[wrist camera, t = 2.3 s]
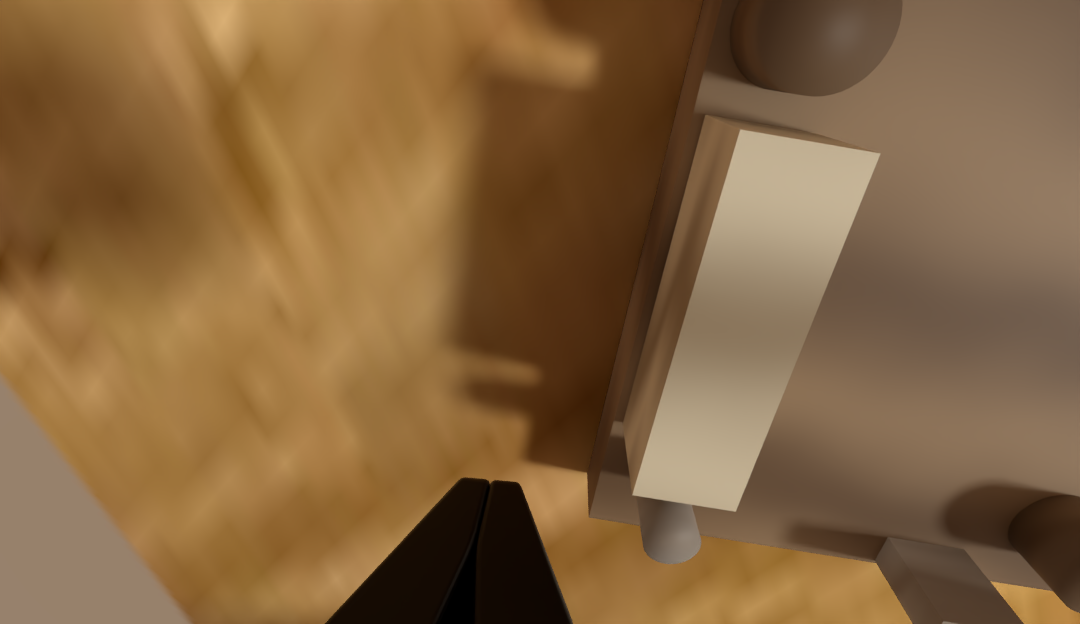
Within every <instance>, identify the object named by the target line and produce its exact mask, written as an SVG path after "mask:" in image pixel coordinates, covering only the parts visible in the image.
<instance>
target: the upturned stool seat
mask: <svg viewBox="0 0 1080 624" xmlns="http://www.w3.org/2000/svg"><path fill="white" fill-rule="evenodd" d="M705 115H711V116H717V117H722V118H728V119H734V120H740V121H746V122H752V123H757V124H763V125H769V126H775V127H781V128H787V129H793V130H798V131H804V132H810V133H816V134H819V135H823V136H826V137H829V138H832V139H836V140H839V141H842V142H845V143H849V144H852V145H855V146H858V147H861V148H865V149H868V150H871V151H874V152H878V153H881V154H880V156H879V159H878V161H877V164H876V166H875V169H874V171H873V174H872V176H871V179H870V181H869V183H868V186H867V188H866V191H865V193H864V196H863V198H862V201H861V203H860V206H859V208H858V211H857V213H856V216H855V218H854V221H853V223H852V225H851V228H850V230H849V233H848V235H847V238H846V240H845V243H844V245H843V248H842V250H841V253H840V255H839V258H838V260H837V263H836V265H835V267H834V270H833V272H832V275H831V277H830V280H829V282H828V285H827V287H826V290H825V292H824V295H823V297H822V300H821V302H820V305H819V307H818V310H817V312H816V314H815V317H814V319H813V322H812V324H811V327H810V329H809V332H808V334H807V337H806V339H805V342H804V344H803V347H802V349H801V352H800V354H799V356H798V359H797V361H796V364H795V366H794V369H793V371H792V374H791V376H790V379H789V381H788V384H787V386H786V389H785V391H784V394H783V396H782V399H781V401H780V403H779V406H778V408H777V411H776V413H775V416H774V418H773V421H772V423H771V426H770V428H769V431H768V433H767V436H766V438H765V441H764V443H763V445H762V448H761V450H760V453H759V455H758V458H757V460H756V463H755V465H754V468H753V470H752V473H751V475H750V478H749V480H748V483H747V485H746V488H745V490H744V492H743V495H742V497H741V500H740V502H739V505H738V507H737V510H736V512H734V511H728V510H722V509H715V508H709V507H703V506H697V505H690V504H684V503H678V502H672V501H665V500H659V499H653V498H647V497H640V496H634V495H632V489H631V482H630V475H629V467H628V460H627V453H626V445H625V438H624V431H623V421H624V418H625V414H626V410H627V406H628V403H629V399H630V395H631V391H632V388H633V384H634V380H635V376H636V373H637V369H638V365H639V361H640V358H641V354H642V350H643V346H644V343H645V339H646V335H647V331H648V328H649V324H650V320H651V316H652V313H653V309H654V305H655V301H656V298H657V294H658V290H659V286H660V283H661V279H662V275H663V271H664V268H665V264H666V260H667V256H668V253H669V249H670V245H671V241H672V238H673V234H674V230H675V226H676V223H677V219H678V215H679V211H680V208H681V204H682V200H683V197H684V193H685V189H686V185H687V182H688V178H689V174H690V170H691V167H692V163H693V159H694V155H695V152H696V148H697V144H698V140H699V137H700V133H701V129H702V125H703V122H704V118H705ZM587 479H588V507H589V517H590V518H596V519H602V520H609V521H615V522H621V523H627V524H634V525H640V527H641V534H642V541H643V547H644V550H645V552H646V553H647V555H648V556H649V557H651V558H652V559H653V560H655V561H658V562H661V563H665V564H677V563H681V562H684V561H687V560H689V559H691V558H692V557H693V556H695V555H696V553H697V552H698V551H699V549H700V546H701V538H700V535H703V536H709V537H716V538H722V539H728V540H735V541H741V542H747V543H753V544H760V545H766V546H772V547H779V548H785V549H791V550H798V551H804V552H810V553H816V554H823V555H829V556H835V557H842V558H848V559H854V560H861V561H867V562H873V563H877V565H878V566H879V568H880V570H881V571H882V573H883V575H884V576H885V578H886V580H887V581H888V583H889V585H890V586H891V588H892V590H893V591H894V593H895V595H896V596H897V598H898V600H899V601H900V603H901V605H902V606H903V608H904V610H905V611H906V613H907V615H908V616H909V618H910V620H911V621H912V623H913V624H1023V622H1022V621H1021V620H1020V619H1019V617H1018V616H1017V615H1016V614H1015V612H1014V611H1013V610H1012V609H1011V607H1010V606H1009V605H1008V604H1007V602H1006V601H1005V600H1004V599H1003V597H1002V596H1001V595H1000V593H999V592H998V591H997V590H996V588H995V587H994V586H993V585H992V583H991V582H990V581H993V582H999V583H1005V584H1012V585H1018V586H1024V587H1031V588H1037V589H1043V590H1050V591H1054V593H1055V594H1056V595H1057V596H1058V597H1059V598H1060V599H1061V600H1062V601H1063V603H1064V604H1065V605H1066V606H1067V607H1069V608H1070V609H1072V610H1074V611H1076V612H1079V613H1080V0H703V5H702V9H701V13H700V17H699V21H698V25H697V29H696V33H695V37H694V41H693V45H692V49H691V53H690V57H689V62H688V66H687V70H686V74H685V78H684V82H683V86H682V90H681V94H680V98H679V102H678V106H677V110H676V115H675V119H674V123H673V127H672V131H671V135H670V139H669V143H668V147H667V151H666V155H665V159H664V163H663V168H662V172H661V176H660V180H659V184H658V188H657V192H656V196H655V200H654V204H653V208H652V212H651V216H650V220H649V225H648V229H647V233H646V237H645V241H644V245H643V249H642V253H641V257H640V261H639V265H638V269H637V273H636V278H635V282H634V286H633V290H632V294H631V298H630V302H629V306H628V310H627V314H626V318H625V322H624V326H623V331H622V335H621V339H620V343H619V347H618V351H617V355H616V359H615V363H614V367H613V371H612V375H611V379H610V383H609V388H608V392H607V396H606V400H605V404H604V408H603V412H602V416H601V420H600V424H599V428H598V432H597V436H596V441H595V445H594V449H593V453H592V457H591V461H590V465H589V469H588V473H587Z"/></svg>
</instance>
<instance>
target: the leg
mask: <svg viewBox="0 0 1080 624" xmlns="http://www.w3.org/2000/svg"><path fill="white" fill-rule="evenodd" d="M880 154H881V153H878V152H874V151H871V150H868V149H865V148H861V147H858V146H855V145H852V144H849V143H845V142H842V141H839V140H836V139H832V138H829V137H826V136H823V135H819V134H816V133H810V132H804V131H798V130H793V129H787V128H781V127H775V126H769V125H763V124H757V123H752V122H746V121H740V120H734V119H728V118H722V117H717V116H711V115H705V118H704V122H703V125H702V129H701V133H700V137H699V140H698V144H697V148H696V152H695V155H694V159H693V163H692V167H691V170H690V174H689V178H688V182H687V185H686V189H685V193H684V197H683V200H682V204H681V208H680V211H679V215H678V219H677V223H676V226H675V230H674V234H673V238H672V241H671V245H670V249H669V253H668V256H667V260H666V264H665V268H664V271H663V275H662V279H661V283H660V286H659V290H658V294H657V298H656V301H655V305H654V309H653V313H652V316H651V320H650V324H649V328H648V331H647V335H646V339H645V343H644V346H643V350H642V354H641V358H640V361H639V365H638V369H637V373H636V376H635V380H634V384H633V388H632V391H631V395H630V399H629V403H628V406H627V410H626V414H625V418H624V421H623V431H624V438H625V445H626V453H627V460H628V467H629V475H630V482H631V489H632V495H634V496H640V497H647V498H653V499H659V500H665V501H672V502H678V503H684V504H690V505H697V506H703V507H709V508H715V509H722V510H728V511H734V512H736V510H737V507H738V505H739V502H740V500H741V497H742V495H743V492H744V490H745V488H746V485H747V483H748V480H749V478H750V475H751V473H752V470H753V468H754V465H755V463H756V460H757V458H758V455H759V453H760V450H761V448H762V445H763V443H764V441H765V438H766V436H767V433H768V431H769V428H770V426H771V423H772V421H773V418H774V416H775V413H776V411H777V408H778V406H779V403H780V401H781V399H782V396H783V394H784V391H785V389H786V386H787V384H788V381H789V379H790V376H791V374H792V371H793V369H794V366H795V364H796V361H797V359H798V356H799V354H800V352H801V349H802V347H803V344H804V342H805V339H806V337H807V334H808V332H809V329H810V327H811V324H812V322H813V319H814V317H815V314H816V312H817V310H818V307H819V305H820V302H821V300H822V297H823V295H824V292H825V290H826V287H827V285H828V282H829V280H830V277H831V275H832V272H833V270H834V267H835V265H836V263H837V260H838V258H839V255H840V253H841V250H842V248H843V245H844V243H845V240H846V238H847V235H848V233H849V230H850V228H851V225H852V223H853V221H854V218H855V216H856V213H857V211H858V208H859V206H860V203H861V201H862V198H863V196H864V193H865V191H866V188H867V186H868V183H869V181H870V179H871V176H872V174H873V171H874V169H875V166H876V164H877V161H878V159H879V156H880Z"/></svg>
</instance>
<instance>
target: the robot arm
mask: <svg viewBox="0 0 1080 624" xmlns="http://www.w3.org/2000/svg"><path fill="white" fill-rule="evenodd" d="M325 624H573V622H572V619H571V617H570V614H569V611H568V609H567V606H566V603H565V601H564V598H563V595H562V593H561V590H560V588H559V585H558V582H557V580H556V577H555V574H554V572H553V569H552V567H551V564H550V561H549V559H548V556H547V553H546V551H545V548H544V545H543V543H542V540H541V538H540V535H539V532H538V530H537V527H536V524H535V522H534V519H533V516H532V514H531V511H530V509H529V506H528V503H527V501H526V498H525V495H524V493H523V490H522V488H521V486H520V484H519V483H517V482H510V481H499V480H494V481H492V482H491V484H490V483H489V481H488V480H486V479H477V478H466V477H465V478H461V479H460V480H458V482H457V483H456V484H455V485H454V486H453V487H452V488H451V489H450V490H449V491H448V492H447V493H446V494H445V495H444V497H443V498H442V499H441V500H440V501H439V502H438V503H437V504H436V505H435V506H434V507H433V508H432V509H431V510H430V512H429V513H428V514H427V515H426V516H425V517H424V518H423V519H422V520H421V521H420V522H419V523H418V524H417V525H416V527H415V528H414V529H413V530H412V531H411V532H410V533H409V534H408V535H407V536H406V537H405V538H404V539H403V540H402V542H401V543H400V544H399V545H398V546H397V547H396V548H395V549H394V550H393V551H392V552H391V553H390V554H389V556H388V557H387V558H386V559H385V560H384V561H383V562H382V563H381V564H380V565H379V566H378V567H377V568H376V569H375V571H374V572H373V573H372V574H371V575H370V576H369V577H368V578H367V579H366V580H365V581H364V582H363V583H362V584H361V586H360V587H359V588H358V589H357V590H356V591H355V592H354V593H353V594H352V595H351V596H350V597H349V598H348V599H347V601H346V602H345V603H344V604H343V605H342V606H341V607H340V608H339V609H338V610H337V611H336V612H335V613H334V614H333V616H332V617H331V618H330V619H329V620H328V621H327V622H326V623H325Z"/></svg>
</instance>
